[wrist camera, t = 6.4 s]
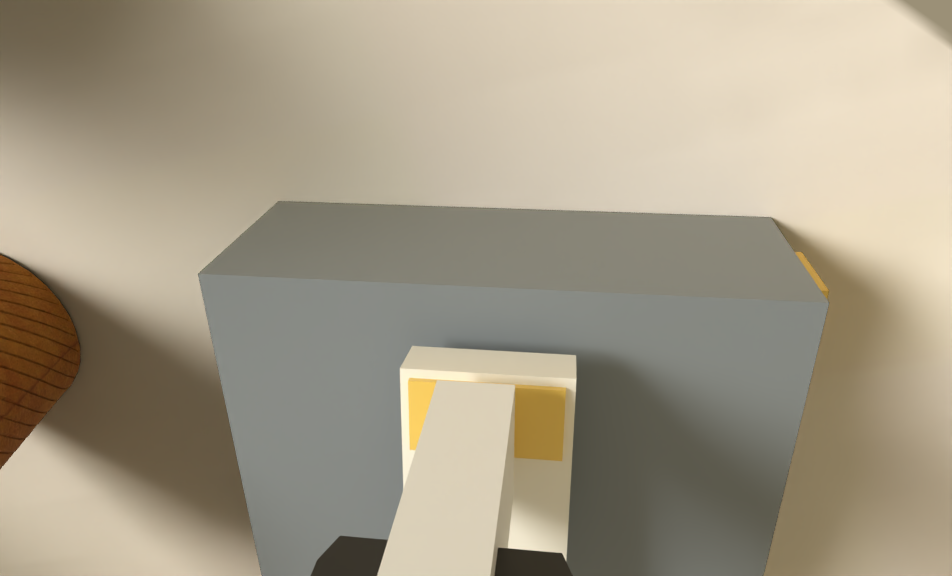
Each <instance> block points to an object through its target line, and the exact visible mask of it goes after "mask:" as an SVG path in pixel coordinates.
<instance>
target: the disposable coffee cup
mask: <svg viewBox="0 0 952 576" xmlns="http://www.w3.org/2000/svg"><path fill="white" fill-rule="evenodd" d="M79 365H80V345H79V341H78V338H77V334H76V330H75V327H74V325H73V323H72V321H71V319H70V316H69V315H68V313H67V311H66V310H65V308H64V307H63V305H62V304H61V302H60V301H59V299H58V298H57V297H56V296H55V295H54V294H53V293H52V292H51V290H50V289H49V288H48V287H47V286H46V285H45V284H44V283H43V282H42V281H40V280H39V279H38V278H37V277H36V276H35V275H33V274H32V273H31V272H30V271H28V270H27V269H25V268H23V267H22V266H20V265H18V264H17V263H15V262H14V261H12V260H10V259H8V258H6V257H4V256H2V255H0V469H1V468H2V466H3V465H4V464H5V463H6V462H7V461H8V459H9V458H10V457H11V456H12V454H13V453H14V452H15V451H16V450H17V449H18V448H19V446H20V445H21V444H22V442H23V441H24V440H25V439H26V438H27V437H28V436H29V434H30V433H31V432H32V431H33V429H34V428H35V427H36V425H37V424H39V422H40V421H41V420H42V418H43V417H44V416H45V415H46V413H47V412H48V411H49V410H50V409H51V408H52V407H53V405H54V404H55V403H56V402H57V400H58V399H59V398H60V397H61V396H62V395H63V393H64V392H65V391H66V390H67V389H68V388H69V387H70V386H71V384H72V382H73V380H74V378H75V376H76V374H77V372H78V369H79Z"/></svg>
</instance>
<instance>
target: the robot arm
mask: <svg viewBox="0 0 952 576" xmlns="http://www.w3.org/2000/svg"><path fill="white" fill-rule="evenodd" d="M514 432H515V385H510V384H493V383H476V382H459V381H443V380H437V382H436V385H435V388H434V392H433V395H432V398H431V401H430V405H429V408H428V411H427V414H426V418H425V421H424V424H423V427H422V431H421V434H420V437H419V440H418V444H417V447H416V450H415V454H414V457H413V460H412V463H411V467H410V470H409V473H408V476H407V480H406V483H405V486H404V489H403V493H402V496H401V499H400V502H399V506H398V509H397V512H396V516H395V519H394V522H393V525H392V529H391V532H390V535H389V538H388V540H385V539H373V538H362V537H350V536H339V537H338V538H337V539H336V540H335V541H334V542H333V544H332V545H331V546H330V547H329V548H328V549H327V550H326V551H325V552H324V553H323V554H322V555H321V556H320V557H319V558H318V559H317V561H316V564H315V566H314V569H313V571H312V573H311V576H573V575H572V573H571V571H570V569H569V567H568V565H567V562H566V560H565V558H564V556H563V554H562V553H556V552H544V551H533V550H521V549H510V548H508V541H509V532H510V523H511V514H512V504H513V495H514Z"/></svg>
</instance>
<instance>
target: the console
mask: <svg viewBox="0 0 952 576" xmlns="http://www.w3.org/2000/svg"><path fill="white" fill-rule="evenodd" d="M198 276H199V281H200V286H201V291H202V295H203V300H204V305H205V310H206V314H207V319H208V324H209V328H210V333H211V338H212V343H213V347H214V352H215V357H216V362H217V366H218V371H219V376H220V381H221V385H222V390H223V395H224V399H225V404H226V409H227V414H228V418H229V423H230V428H231V433H232V437H233V442H234V447H235V451H236V456H237V461H238V466H239V470H240V475H241V480H242V485H243V489H244V494H245V499H246V504H247V508H248V513H249V518H250V522H251V527H252V532H253V537H254V541H255V546H256V551H257V556H258V560H259V565H260V570H261V575H262V576H311V573H312V571H313V569H314V566H315V564H316V561H317V559H318V558H319V557H320V556H321V555H322V554H323V553H324V552H325V551H326V550H327V549H328V548H329V547H330V546H331V545H332V544H333V542H334V541H335V540H336V539H337V538H338V537H339V536H350V537H362V538H373V539H385V540H388V538H389V535H390V532H391V529H392V525H393V522H394V519H395V516H396V512H397V509H398V506H399V502H400V499H401V496H402V493H403V460H402V426H401V392H400V367H401V365H402V363H403V362H404V360H405V358H406V356H407V354H408V353H409V351H410V349H411V347H412V346H423V347H441V348H459V349H476V350H494V351H512V352H529V353H547V354H565V355H576V378H577V379H576V397H575V415H574V433H573V451H572V469H571V486H570V504H569V522H568V540H567V558H566V562H567V565H568V567H569V569H570V571H571V573H572V575H573V576H763V575H764V571H765V567H766V563H767V559H768V555H769V551H770V546H771V542H772V538H773V534H774V530H775V526H776V522H777V517H778V513H779V509H780V505H781V501H782V497H783V493H784V488H785V484H786V480H787V476H788V472H789V468H790V464H791V459H792V455H793V451H794V447H795V443H796V439H797V435H798V430H799V426H800V422H801V418H802V414H803V410H804V406H805V401H806V397H807V393H808V389H809V385H810V381H811V377H812V372H813V368H814V364H815V360H816V356H817V352H818V348H819V343H820V339H821V335H822V331H823V327H824V323H825V319H826V314H827V310H828V306H829V302H828V300H827V297H828V293H829V290H828V289H827V287H826V286H825V284H824V283H823V282H822V280H821V279H820V277H819V276H818V274H817V273H816V272H815V270H814V269H813V267H812V266H811V265H810V263H809V262H808V260H807V259H806V257H805V256H804V255H803V253H802V252H794V250H793V249H792V248H791V246H790V245H789V243H788V242H787V240H786V239H785V237H784V236H783V234H782V233H781V231H780V230H779V228H778V227H777V226H776V224H775V223H774V221H773V220H772V218H771V217H745V216H714V215H683V214H652V213H621V212H590V211H559V210H529V209H498V208H467V207H436V206H405V205H374V204H343V203H313V202H282V201H278V202H277V203H276V204H275V205H274V206H273V207H272V208H271V209H270V210H268V211H267V212H266V213H265V214H264V215H263V216H262V217H261V218H260V219H258V220H257V221H256V222H255V223H254V224H253V225H252V226H251V227H250V228H248V229H247V230H246V231H245V232H244V233H243V234H242V235H241V236H240V237H238V238H237V239H236V240H235V241H234V242H233V243H232V244H231V245H230V246H228V247H227V248H226V249H225V250H224V251H223V252H222V253H221V254H220V255H218V256H217V257H216V258H215V259H214V260H213V261H212V262H211V263H210V264H208V265H207V266H206V267H205V268H204V269H203V270H202V271H201V272H200V273H198Z"/></svg>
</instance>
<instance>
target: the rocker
mask: <svg viewBox="0 0 952 576" xmlns="http://www.w3.org/2000/svg"><path fill="white" fill-rule="evenodd" d="M576 379H577V378H576V355H565V354H547V353H529V352H512V351H494V350H476V349H459V348H441V347H423V346H412V347H411V349H410V351H409V353H408V354H407V356H406V358H405V360H404V362H403V363H402V365H401V367H400V392H401V426H402V460H403V489H404V486H405V483H406V480H407V476H408V473H409V470H410V467H411V463H412V460H413V457H414V454H415V450H416V447H417V444H418V440H419V437H420V434H421V431H422V427H423V424H424V421H425V418H426V414H427V411H428V408H429V405H430V401H431V398H432V395H433V392H434V388H435V385H436V382H437V380H443V381H459V382H476V383H493V384H510V385H515V432H514V495H513V504H512V514H511V523H510V532H509V541H508V548H510V549H521V550H533V551H544V552H556V553H562V554H563V556H564V558H565V560H566V558H567V540H568V522H569V504H570V486H571V469H572V451H573V433H574V415H575V397H576Z"/></svg>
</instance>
